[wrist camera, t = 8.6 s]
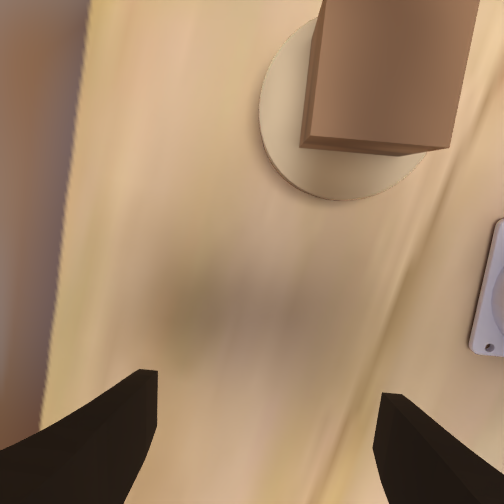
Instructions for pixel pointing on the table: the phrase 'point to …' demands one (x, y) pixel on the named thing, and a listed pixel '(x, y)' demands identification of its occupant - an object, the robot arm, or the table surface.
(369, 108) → the walnut cube
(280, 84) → the birch round
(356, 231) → the table surface
